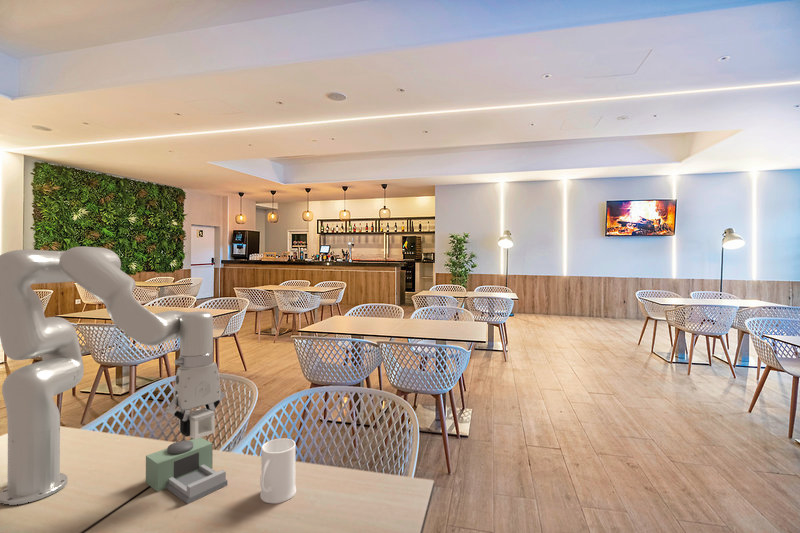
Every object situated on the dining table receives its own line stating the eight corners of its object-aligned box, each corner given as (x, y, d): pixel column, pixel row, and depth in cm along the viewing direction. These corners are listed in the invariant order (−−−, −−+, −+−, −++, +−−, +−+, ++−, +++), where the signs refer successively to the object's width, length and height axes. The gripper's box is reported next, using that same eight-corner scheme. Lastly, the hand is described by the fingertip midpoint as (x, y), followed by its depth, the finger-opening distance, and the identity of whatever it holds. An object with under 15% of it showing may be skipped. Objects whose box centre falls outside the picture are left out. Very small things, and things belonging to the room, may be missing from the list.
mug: (273, 515, 88) (274, 462, 88) (243, 507, 91) (243, 456, 91) (302, 487, 100) (303, 440, 100) (274, 481, 102) (274, 435, 102)
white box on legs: (214, 432, 100) (214, 412, 100) (195, 439, 96) (195, 418, 96) (199, 424, 104) (198, 405, 104) (179, 431, 100) (179, 411, 100)
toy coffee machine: (145, 482, 101) (145, 451, 101) (199, 460, 113) (199, 433, 113) (178, 508, 91) (179, 474, 91) (234, 481, 102) (234, 451, 102)
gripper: (168, 369, 91) (168, 447, 91) (235, 355, 105) (236, 423, 105) (154, 365, 95) (154, 439, 95) (220, 352, 109) (221, 417, 109)
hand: (197, 430), depth 100 cm, fingers closed on white box on legs, 4 cm apart
